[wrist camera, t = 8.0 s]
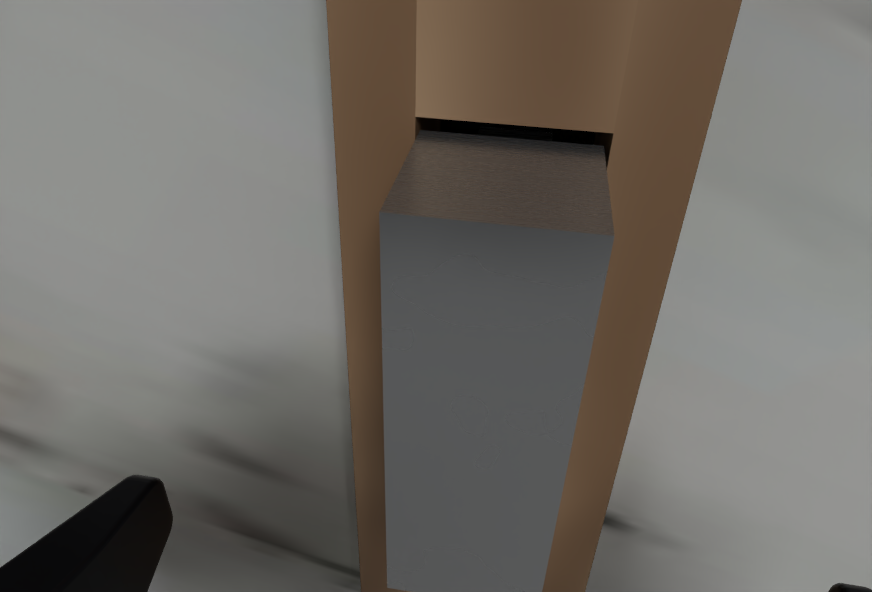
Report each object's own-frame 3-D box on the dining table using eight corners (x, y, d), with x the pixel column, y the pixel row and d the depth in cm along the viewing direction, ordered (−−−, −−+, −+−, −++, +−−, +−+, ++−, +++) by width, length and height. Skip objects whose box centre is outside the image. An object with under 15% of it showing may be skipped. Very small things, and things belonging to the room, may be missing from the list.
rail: (384, 529, 22) (362, 614, 20) (363, -425, 10) (296, -511, 7) (569, 557, 22) (569, 650, 19) (796, -429, 9) (882, -527, 7)
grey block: (435, 387, 18) (387, 587, 14) (446, 77, 14) (379, 212, 9) (545, 402, 18) (538, 612, 13) (596, 89, 13) (615, 235, 8)
